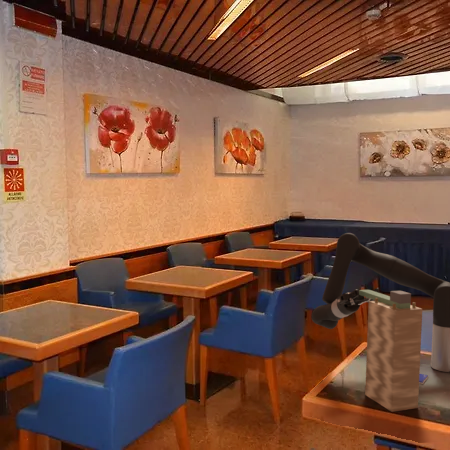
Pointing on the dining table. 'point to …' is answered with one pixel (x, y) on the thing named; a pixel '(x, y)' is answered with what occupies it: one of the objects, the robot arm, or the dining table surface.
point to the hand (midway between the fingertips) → (368, 291)
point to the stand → (393, 355)
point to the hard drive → (422, 378)
